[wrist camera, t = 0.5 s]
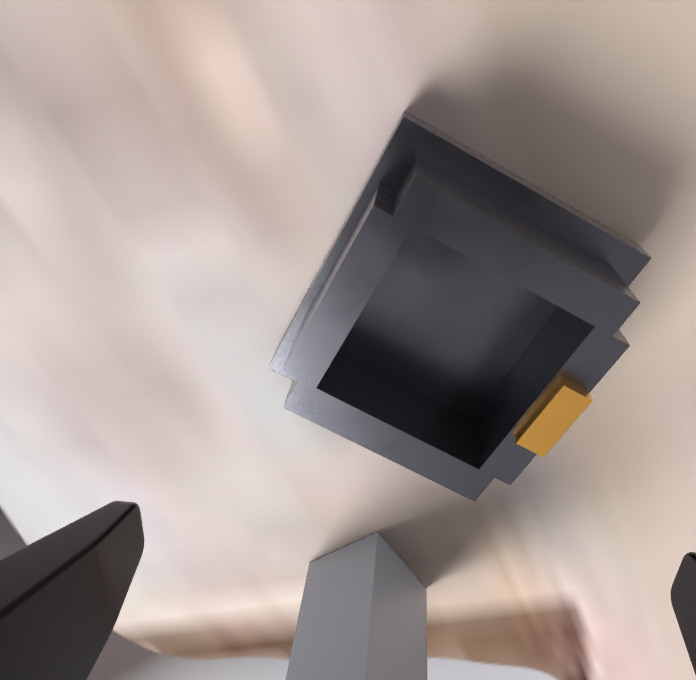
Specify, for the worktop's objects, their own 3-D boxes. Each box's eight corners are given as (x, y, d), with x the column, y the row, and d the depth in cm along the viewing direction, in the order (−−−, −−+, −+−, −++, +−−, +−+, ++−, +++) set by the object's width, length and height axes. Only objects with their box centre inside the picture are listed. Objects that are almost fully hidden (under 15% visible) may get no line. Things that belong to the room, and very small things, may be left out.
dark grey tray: (274, 352, 24) (243, 423, 20) (404, 111, 20) (399, 135, 16) (474, 453, 25) (485, 540, 21) (639, 246, 21) (694, 303, 17)
